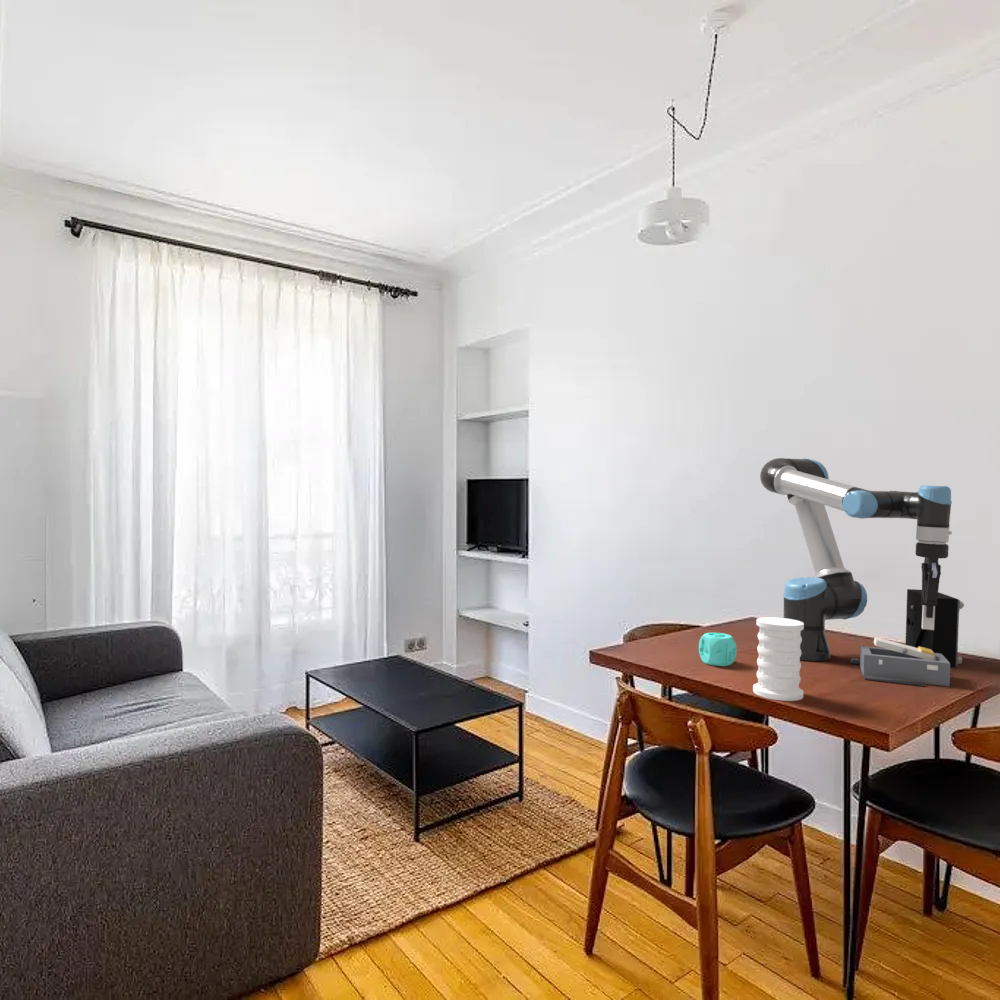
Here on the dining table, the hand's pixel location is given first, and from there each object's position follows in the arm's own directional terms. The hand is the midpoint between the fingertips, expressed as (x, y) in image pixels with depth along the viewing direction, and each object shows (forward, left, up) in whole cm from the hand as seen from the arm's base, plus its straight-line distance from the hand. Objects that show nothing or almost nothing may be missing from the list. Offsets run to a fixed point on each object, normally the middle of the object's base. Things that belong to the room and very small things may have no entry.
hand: (927, 628), depth 188 cm
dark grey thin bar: (-9, -9, -14) cm, 19 cm away
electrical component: (+5, +26, -14) cm, 30 cm away
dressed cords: (-6, +9, -14) cm, 17 cm away
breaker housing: (-6, 0, -14) cm, 15 cm away
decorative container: (-37, -34, -14) cm, 52 cm away
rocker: (-6, 0, -6) cm, 8 cm away
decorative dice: (-54, -9, -14) cm, 56 cm away
